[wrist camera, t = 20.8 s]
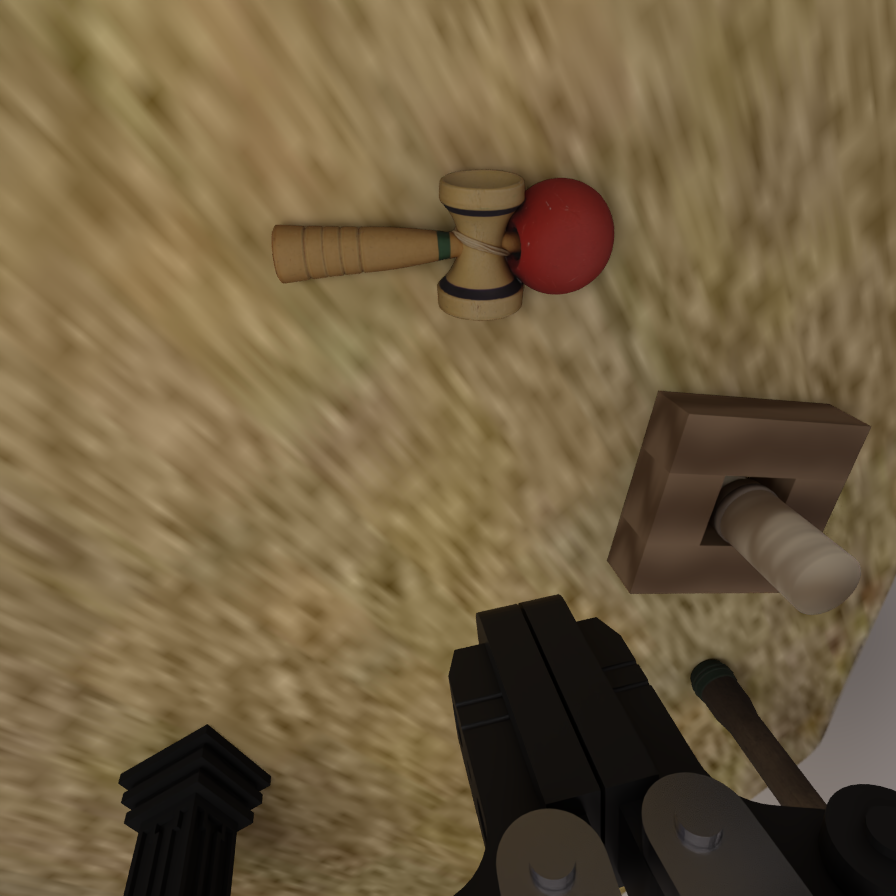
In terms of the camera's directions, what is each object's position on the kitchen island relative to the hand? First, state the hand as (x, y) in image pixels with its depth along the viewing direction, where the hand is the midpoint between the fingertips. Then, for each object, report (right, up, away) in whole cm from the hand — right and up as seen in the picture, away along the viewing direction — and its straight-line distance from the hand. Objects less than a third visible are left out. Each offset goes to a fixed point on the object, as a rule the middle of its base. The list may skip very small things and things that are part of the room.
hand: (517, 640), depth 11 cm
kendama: (-2, +15, +25) cm, 30 cm away
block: (+19, +1, +37) cm, 41 cm away
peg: (+19, +1, +37) cm, 41 cm away
